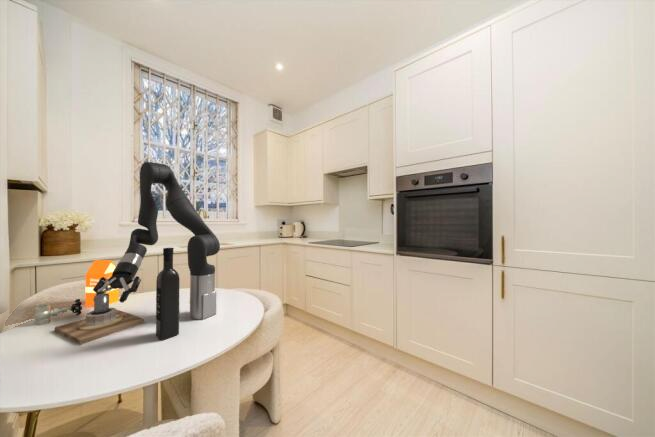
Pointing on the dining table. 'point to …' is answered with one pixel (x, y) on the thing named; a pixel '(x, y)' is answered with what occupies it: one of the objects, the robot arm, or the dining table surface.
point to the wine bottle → (167, 298)
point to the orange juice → (95, 274)
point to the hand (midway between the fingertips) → (108, 302)
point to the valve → (54, 312)
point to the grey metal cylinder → (101, 304)
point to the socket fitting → (98, 325)
